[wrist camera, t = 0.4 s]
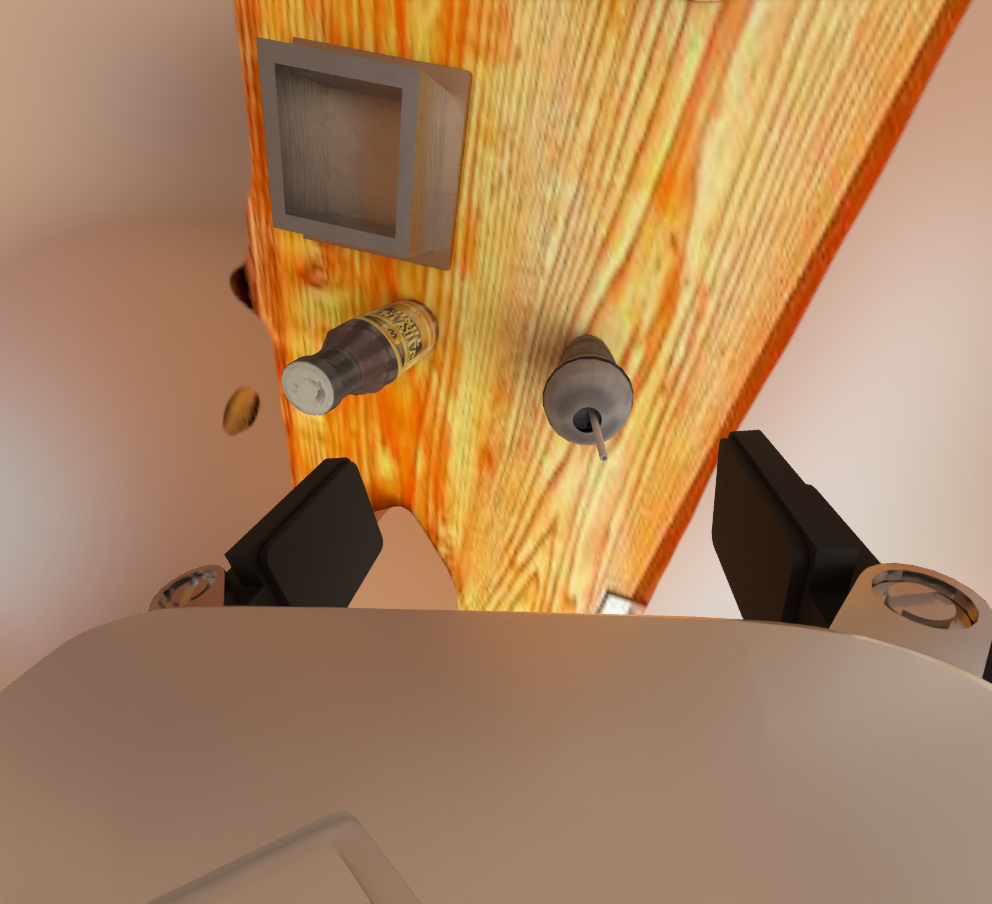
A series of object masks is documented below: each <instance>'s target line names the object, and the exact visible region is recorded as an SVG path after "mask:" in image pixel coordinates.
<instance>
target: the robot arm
mask: <svg viewBox="0 0 992 904" xmlns="http://www.w3.org/2000/svg"><path fill="white" fill-rule="evenodd" d="M694 1H698V2H703V1H719V0H694ZM712 541H713V545H714V548H715V551H716V553H717V555H718V558H719V561H720V563H721V566H722V568H723V571H724V573H725V575H726V578H727V580H728V583H729V585H730V588H731V590H732V592H733V595H734V598H735V600H736V602H737V605H738V607H739V610H740V612H741V615H742V617H743V620H742V619H741V620H740V619H725V618H707V617H684V616H651V615H617V614H583V613H547V612H505V611H463V610H421V609H379V608H348V606H349V604H350V603H351V601H352V599H353V598H354V596H355V594H356V593H357V591H358V589H359V587H360V586H361V584H362V582H363V581H364V579H365V577H366V576H367V574H368V572H369V571H370V569H371V567H372V566H373V564H374V562H375V561H376V559H377V557H378V556H379V554H380V552H381V550H382V548H383V537H382V534H381V531H380V528H379V526H378V523H377V520H376V517H375V515H374V512H373V509H372V506H371V503H370V501H369V498H368V495H367V492H366V490H365V487H364V484H363V481H362V479H361V476H360V473H359V470H358V467H357V465H356V464H355V463H354V462H351V461H350V460H349V459H348V458H346V457H345V458H330V459H325V460H324V461H323V462H322V463H320V464H319V465H318V466H317V467H316V468H315V469H314V470H313V471H312V472H311V473H310V474H309V475H308V476H307V477H306V478H305V479H304V480H303V481H301V482H300V483H299V484H298V485H297V486H296V487H295V488H294V489H293V490H292V491H291V492H290V493H289V494H288V495H287V496H286V497H285V498H284V499H282V500H281V501H280V502H279V503H278V504H277V505H276V506H275V507H274V508H273V509H272V510H271V511H270V512H269V513H268V514H267V515H266V516H264V517H263V518H262V519H261V520H260V521H259V522H258V523H257V524H256V525H255V526H254V527H253V528H252V529H251V530H250V531H249V532H248V533H247V534H246V535H245V536H243V537H242V538H241V539H240V540H239V541H238V542H237V543H236V544H235V545H234V546H233V547H232V548H231V549H230V550H229V551H228V552H226V553H225V556H226V558H227V560H228V561H229V563H230V565H231V569H229V571H227V572H225V570H224V568H223V567H221V566H219V565H206V566H201V567H198V568H195V569H192V570H190V571H188V572H186V573H184V574H181V575H180V576H178V577H176V578H175V579H173V580H172V581H170V582H169V583H167V584H166V585H165V586H164V587H163V588H161V589H160V590H159V591H158V593H157V594H156V595H155V596H154V597H153V599H152V601H151V603H150V606H149V610H148V612H144V613H139V614H135V615H131V616H127V617H124V618H120V619H117V620H114V621H111V622H108V623H105V624H102V625H100V626H97V627H95V628H92V629H90V630H87V631H85V632H83V633H81V634H79V635H77V636H75V637H73V638H71V639H70V640H68V641H66V642H65V643H63V644H62V645H61V646H59V647H58V648H56V649H55V650H54V651H52V652H51V653H49V654H48V655H47V656H45V657H44V658H43V659H42V660H40V661H39V662H38V663H36V664H35V665H34V666H33V667H31V668H30V669H29V670H27V671H26V672H25V673H24V674H23V675H21V676H20V677H19V678H17V679H16V680H15V681H13V682H12V683H11V684H10V685H8V686H7V687H6V688H5V689H3V690H2V691H1V692H0V904H992V610H991V608H990V607H989V605H988V604H987V603H986V601H985V600H984V599H983V598H981V597H980V596H979V595H978V594H977V593H975V592H974V591H973V590H972V589H970V588H969V587H967V586H965V585H963V584H962V583H960V582H958V581H957V580H955V579H953V578H950V577H948V576H946V575H943V574H941V573H938V572H936V571H933V570H930V569H926V568H922V567H918V566H914V565H907V564H899V563H886V564H881V563H880V562H879V561H878V560H877V559H876V558H875V556H874V555H873V554H872V553H871V552H870V551H869V549H868V548H867V547H866V546H865V545H864V544H863V542H862V541H861V540H860V539H859V538H858V537H857V536H856V534H855V533H854V532H853V531H852V530H851V529H850V527H849V526H848V525H847V524H846V523H845V522H844V521H843V519H842V518H841V517H840V516H839V515H838V514H837V512H836V511H835V510H834V509H833V508H832V507H831V506H830V505H829V503H828V502H827V501H826V500H825V499H824V497H822V495H821V494H820V493H819V492H818V491H817V489H815V488H814V487H813V486H812V485H808V484H805V483H804V481H803V480H802V479H801V478H800V477H799V476H798V474H797V473H796V472H795V471H794V470H793V468H791V466H790V465H789V464H788V462H787V461H786V460H785V459H784V458H783V457H782V455H781V454H780V453H779V452H778V451H777V449H776V448H775V447H774V446H773V445H772V444H771V442H770V441H769V440H768V439H767V438H766V436H765V435H764V434H763V433H762V432H761V431H760V430H748V431H733V432H730V433H729V436H728V438H722V439H721V440H720V443H719V453H718V464H717V476H716V488H715V500H714V512H713V524H712Z"/></svg>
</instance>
